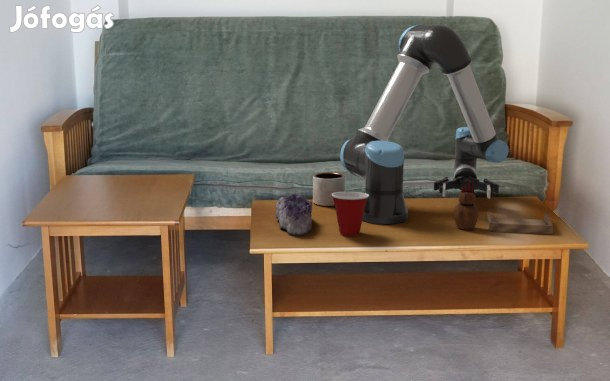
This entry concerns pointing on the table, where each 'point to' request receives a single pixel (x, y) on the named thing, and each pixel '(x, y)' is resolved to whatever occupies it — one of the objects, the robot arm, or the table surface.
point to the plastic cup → (349, 211)
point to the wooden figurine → (466, 208)
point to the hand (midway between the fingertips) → (466, 193)
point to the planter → (327, 187)
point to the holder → (520, 225)
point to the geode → (294, 214)
